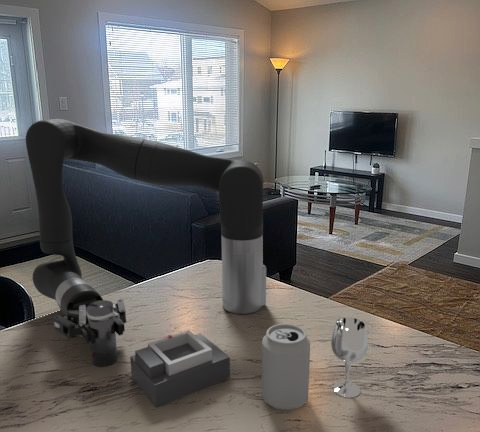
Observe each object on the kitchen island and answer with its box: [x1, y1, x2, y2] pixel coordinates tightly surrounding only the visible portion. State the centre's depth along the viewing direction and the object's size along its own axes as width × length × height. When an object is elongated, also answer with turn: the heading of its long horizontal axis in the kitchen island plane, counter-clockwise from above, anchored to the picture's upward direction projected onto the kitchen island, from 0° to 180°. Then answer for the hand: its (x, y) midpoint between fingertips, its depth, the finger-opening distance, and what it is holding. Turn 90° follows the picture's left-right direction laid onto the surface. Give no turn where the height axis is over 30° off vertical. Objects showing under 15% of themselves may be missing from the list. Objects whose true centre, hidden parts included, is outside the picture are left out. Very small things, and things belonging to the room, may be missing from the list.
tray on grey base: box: [129, 329, 231, 408], centre depth 82 cm, size 14×10×6 cm
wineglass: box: [330, 316, 369, 399], centre depth 78 cm, size 6×6×12 cm
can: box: [261, 323, 311, 412], centre depth 75 cm, size 8×8×12 cm
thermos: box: [87, 299, 118, 368], centre depth 87 cm, size 5×5×11 cm
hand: (107, 334), depth 84 cm, fingers closed on thermos, 4 cm apart
